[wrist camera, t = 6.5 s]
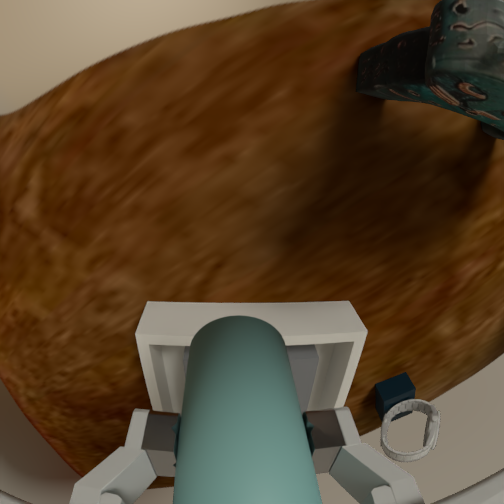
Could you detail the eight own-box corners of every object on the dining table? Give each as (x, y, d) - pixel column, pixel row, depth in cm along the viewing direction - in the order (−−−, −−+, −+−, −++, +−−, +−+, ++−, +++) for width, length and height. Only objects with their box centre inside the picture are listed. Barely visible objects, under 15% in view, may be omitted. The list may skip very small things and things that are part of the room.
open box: (348, 300, 30) (367, 331, 25) (317, 421, 37) (325, 451, 32) (147, 301, 28) (135, 333, 24) (170, 425, 35) (166, 455, 31)
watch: (415, 391, 37) (448, 449, 27) (363, 412, 37) (389, 476, 27) (418, 366, 35) (457, 427, 25) (362, 388, 35) (392, 457, 25)
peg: (290, 314, 12) (364, 584, 3) (281, 385, 14) (320, 596, 5) (185, 315, 12) (150, 597, 3) (193, 386, 13) (182, 602, 4)
